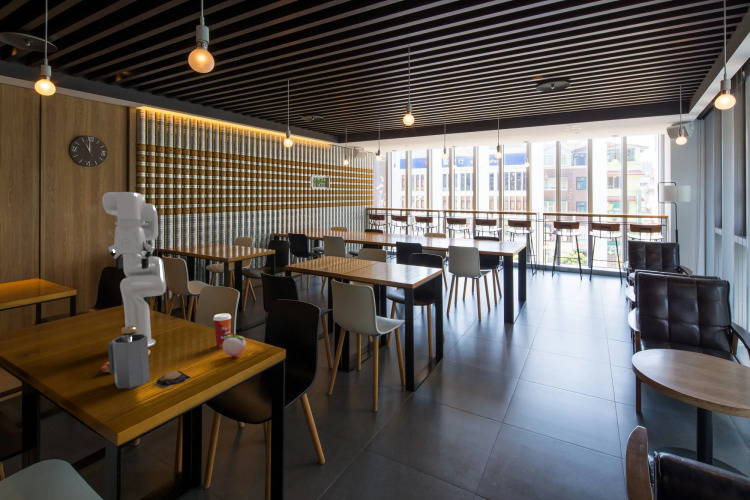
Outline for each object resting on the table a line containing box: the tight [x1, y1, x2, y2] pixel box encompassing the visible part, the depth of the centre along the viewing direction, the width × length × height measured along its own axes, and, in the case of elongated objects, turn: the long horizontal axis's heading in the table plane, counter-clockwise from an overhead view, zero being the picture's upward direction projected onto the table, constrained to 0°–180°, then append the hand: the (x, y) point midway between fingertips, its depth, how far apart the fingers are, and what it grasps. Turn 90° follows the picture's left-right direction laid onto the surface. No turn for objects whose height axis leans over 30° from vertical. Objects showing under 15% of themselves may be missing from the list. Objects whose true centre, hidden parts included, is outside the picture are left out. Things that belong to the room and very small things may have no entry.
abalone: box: [153, 370, 191, 389], centre depth 139 cm, size 11×8×4 cm
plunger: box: [121, 326, 137, 342], centre depth 137 cm, size 8×8×18 cm
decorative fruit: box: [222, 333, 247, 358], centre depth 160 cm, size 9×8×10 cm
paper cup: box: [212, 313, 232, 349], centre depth 174 cm, size 8×8×14 cm
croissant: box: [99, 349, 151, 373], centre depth 153 cm, size 21×10×8 cm, turn 164°
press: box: [107, 334, 151, 389], centre depth 137 cm, size 12×10×16 cm
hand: (132, 268), depth 151 cm, fingers open, 9 cm apart
